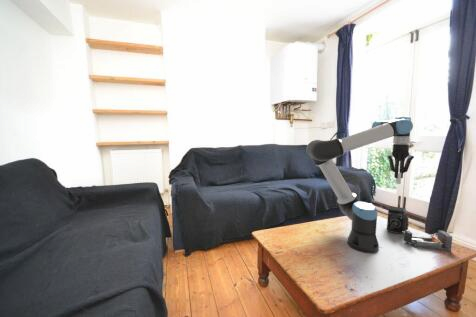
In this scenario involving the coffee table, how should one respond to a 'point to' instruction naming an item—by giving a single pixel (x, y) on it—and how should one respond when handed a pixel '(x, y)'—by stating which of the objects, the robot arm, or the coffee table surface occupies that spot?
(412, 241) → the plunger
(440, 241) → the orange upright plank
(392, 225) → the camera
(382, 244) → the coffee table surface
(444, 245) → the gauge body
